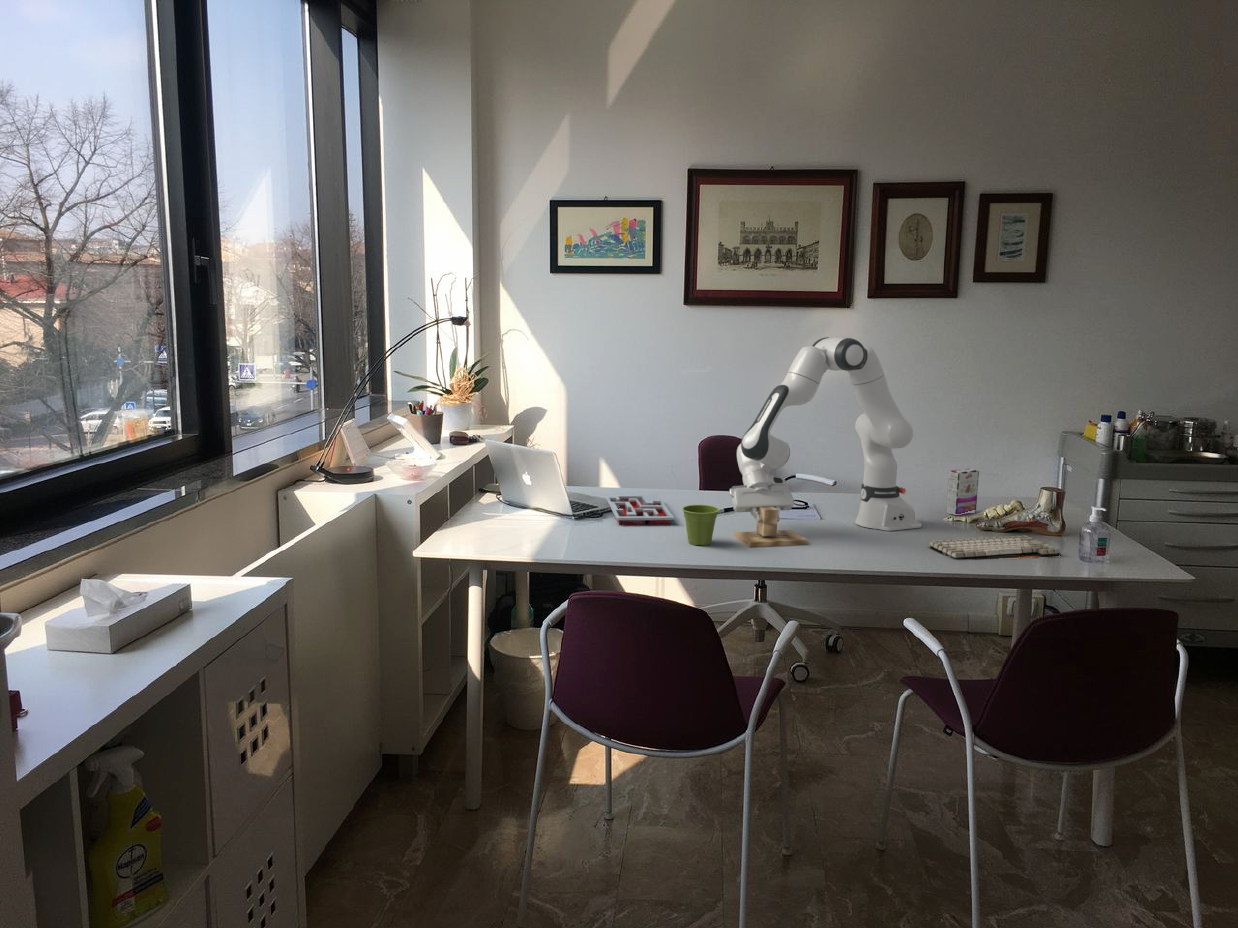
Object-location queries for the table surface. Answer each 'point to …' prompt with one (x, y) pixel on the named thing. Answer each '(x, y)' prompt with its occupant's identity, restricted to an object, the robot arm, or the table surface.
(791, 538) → the board
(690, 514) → the plant pot
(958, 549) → the mechanical keyboard
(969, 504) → the candy bar box
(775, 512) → the block
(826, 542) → the table surface
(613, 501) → the maze game
